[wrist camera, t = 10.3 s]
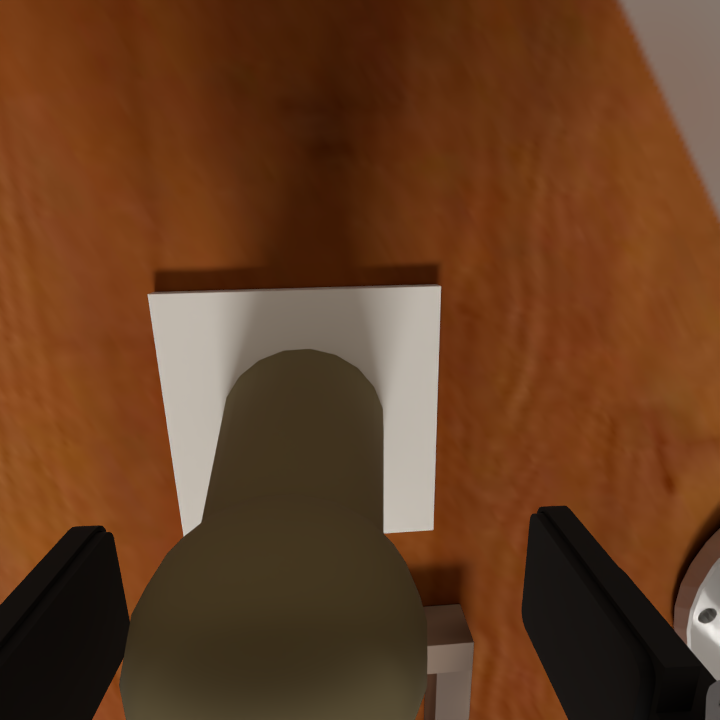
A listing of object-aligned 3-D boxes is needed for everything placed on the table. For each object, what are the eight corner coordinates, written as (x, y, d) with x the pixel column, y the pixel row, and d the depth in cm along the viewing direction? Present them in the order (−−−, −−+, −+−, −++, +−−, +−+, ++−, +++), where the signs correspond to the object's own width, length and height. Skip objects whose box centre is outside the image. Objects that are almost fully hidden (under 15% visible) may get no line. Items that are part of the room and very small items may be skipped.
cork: (223, 341, 16) (26, 564, 5) (393, 355, 16) (517, 580, 6) (219, 493, 18) (62, 893, 7) (374, 500, 18) (444, 879, 8)
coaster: (436, 284, 16) (440, 286, 16) (430, 521, 19) (433, 529, 19) (154, 292, 16) (147, 294, 15) (189, 536, 19) (185, 546, 18)
